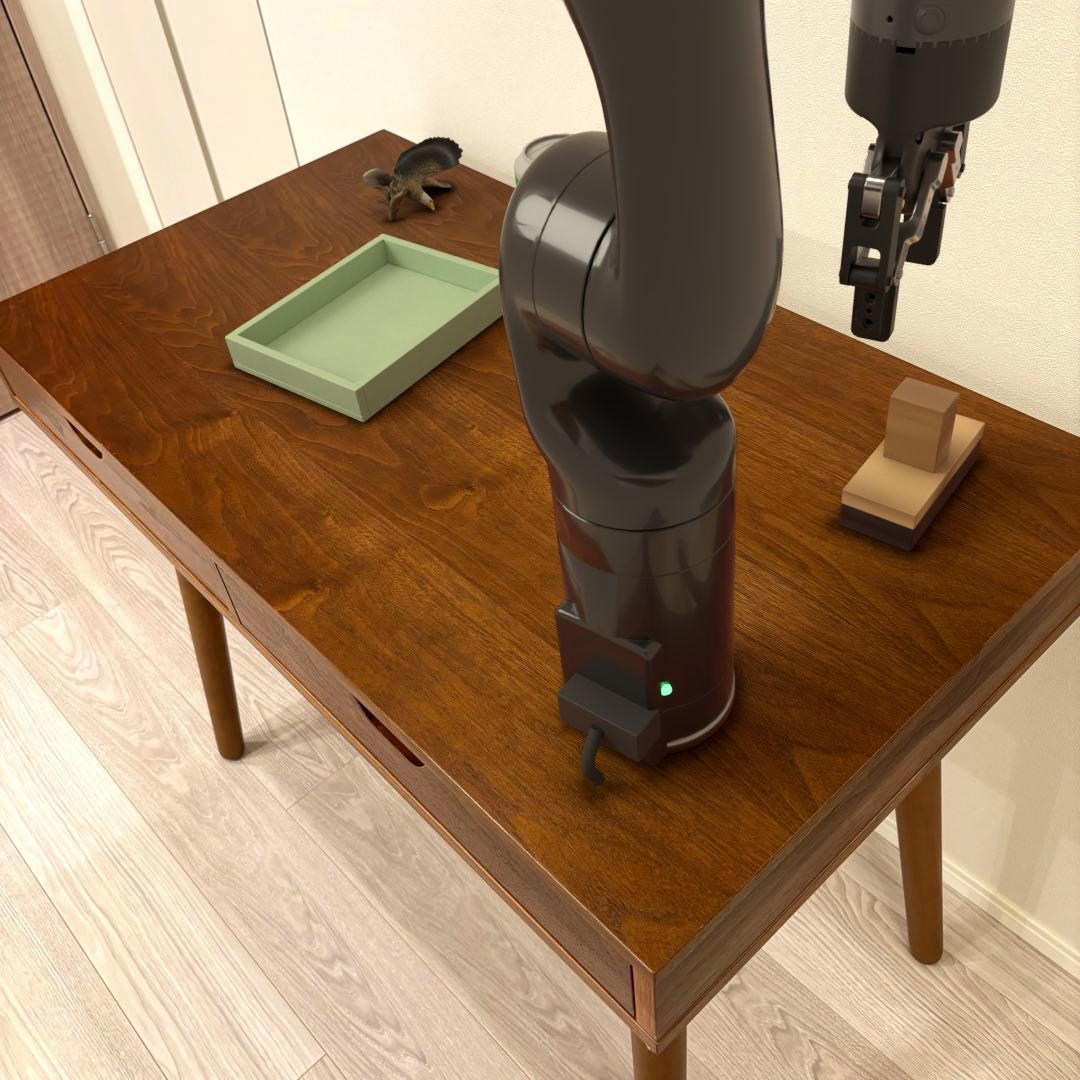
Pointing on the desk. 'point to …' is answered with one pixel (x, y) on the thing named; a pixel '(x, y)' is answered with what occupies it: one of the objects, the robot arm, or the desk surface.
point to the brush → (912, 466)
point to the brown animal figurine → (415, 172)
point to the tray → (369, 325)
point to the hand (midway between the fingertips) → (895, 297)
